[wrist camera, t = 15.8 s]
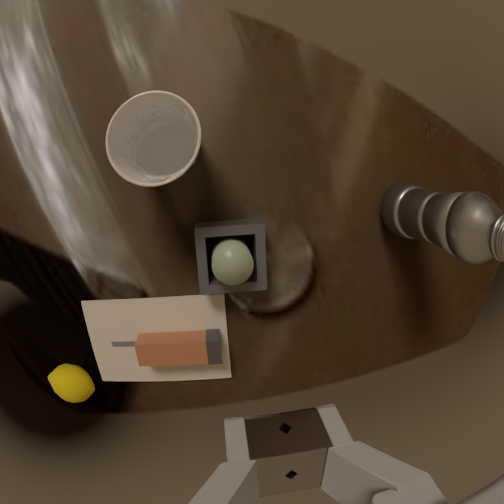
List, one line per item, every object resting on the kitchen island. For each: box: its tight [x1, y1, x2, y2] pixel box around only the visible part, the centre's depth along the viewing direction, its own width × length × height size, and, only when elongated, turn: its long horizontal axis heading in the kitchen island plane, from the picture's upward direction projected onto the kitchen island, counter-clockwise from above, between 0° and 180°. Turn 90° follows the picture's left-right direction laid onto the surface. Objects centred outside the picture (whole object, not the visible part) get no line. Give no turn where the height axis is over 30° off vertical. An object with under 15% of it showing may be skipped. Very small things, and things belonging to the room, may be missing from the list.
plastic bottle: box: [381, 183, 504, 264], centre depth 28 cm, size 6×7×20 cm
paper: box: [81, 293, 232, 381], centre depth 38 cm, size 18×12×1 cm, turn 93°
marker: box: [134, 329, 222, 366], centre depth 37 cm, size 10×3×3 cm, turn 93°
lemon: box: [48, 364, 95, 403], centre depth 36 cm, size 7×5×5 cm
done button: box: [212, 235, 254, 285], centre depth 33 cm, size 4×4×5 cm
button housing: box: [194, 218, 267, 295], centre depth 35 cm, size 7×7×4 cm
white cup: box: [106, 91, 201, 187], centre depth 28 cm, size 8×8×10 cm
